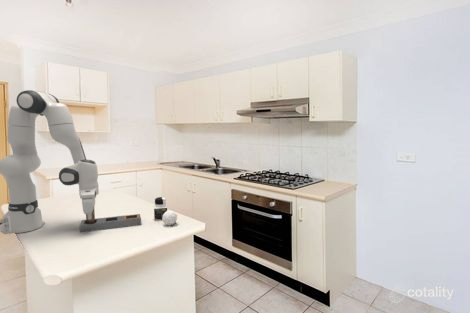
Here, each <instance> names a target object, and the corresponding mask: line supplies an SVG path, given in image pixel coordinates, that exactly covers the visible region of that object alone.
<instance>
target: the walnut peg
mask: <svg viewBox="0 0 470 313" xmlns="http://www.w3.org/2000/svg"><path fill="white" fill-rule="evenodd" d="M95 216H96V215H95V208H94V209H93V211H92V219H90V220H88V216H87V214H85V220H86V224H88V223H95V219H96V217H95Z"/></svg>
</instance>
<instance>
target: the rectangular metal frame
mask: <svg viewBox="0 0 470 313" xmlns="http://www.w3.org/2000/svg"><path fill="white" fill-rule="evenodd" d="M136 226H142V217H141V214H140V213H137V214H128V215H127V214H126V215H125V214H124V215H116V216H107V217H99V218H95V223H88V224H86V219H82V220H81V221H80V224H79V233H85V232H91V231H93V232H95V231H102V230H108V229H110V230H111V229H118V228H125V227H126V228H127V227H136Z"/></svg>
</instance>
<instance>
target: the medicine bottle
mask: <svg viewBox="0 0 470 313" xmlns="http://www.w3.org/2000/svg"><path fill="white" fill-rule="evenodd" d="M166 200H167V199H166V197H162V196H159V197H156V198H154V205H153V217H154V218H153V219H154V221H163V220H162V217H163V214H164V213H165V212H166V211H168V204H167V201H166Z"/></svg>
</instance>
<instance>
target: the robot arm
mask: <svg viewBox="0 0 470 313" xmlns="http://www.w3.org/2000/svg"><path fill="white" fill-rule="evenodd" d="M38 116H42V117H43V116H44V117H45V118H46V121H47V126H48V130H49V134H50V137H51V139H53V140H54V141H55V142H57V143H59V144H60V145H61V144H62V145H63V146H65V147H66V148H68V150H69V151H70V155H71V158H72V161H73V164H71V165H68V166H66V167H64V168H62V169H61V170H60V171H59V172H58V179H59V181H60V182H61V183H62V185H64V186H74V185H78V192H79V193H78V194H79V198H80V199H81V204H82V211H83V213H84V215H86V214H87V216H88V220H90V219H92V211H93V209H94V210H95V206H96V198H97V195H99V193H100V191H99V182H98V178H99V173H98V165H97V163H96V161H94V160H91V159H87V157H86V153H85V151H84V148H83V144H82V142H81V139H80V137H79V136H78V134H77V131H76V129H75V125H74V121H73V117H72V113H71V111H70V109H69V107H68V106H67V104H65V103H63V102H60V101H59V99H58V98H57V97H56V96H55V95H53V94H50V93H46V92H44V91H39V90H38V91H37V90H30V89H28V90H22V91H21V92H19V93H18V95H17V96H16V104H14V105H12V106H11V107H10V110H9V114H8V120H7V142H8V143H9V145H10V148H11V151H12V154H9V155H6V156H4V157H2V159H0V174H1V175H2V176H3V178H4V180H5V182H6V185H7V188H8V198H9V203H8V206H7V207H8V208H7V210H8V211H6V213H5V214H4V215H3V216H2V218H1V219H0V232H1V233H2V234H3V235H10V234H18V233H21V234H22V233H27V232H31V231H36V230H38V229H40V228H41V227H42V226H43V225H45V224H46V221H45V220H44V221H43V216H42V210H41V208H39V202H38V199H37V186H36V184H35V183H34V182H33V180H32V178H31V173H34V172H35V171H37V169H39V167H40V166H41V158H40V157H39V155H38V151H37V147H36V118H37V117H38Z"/></svg>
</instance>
